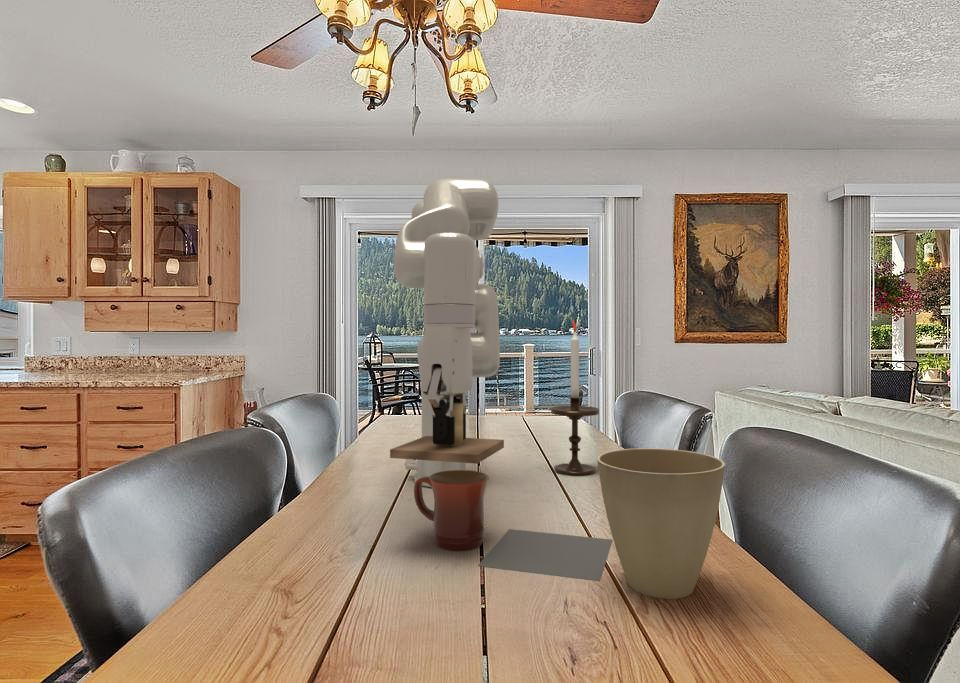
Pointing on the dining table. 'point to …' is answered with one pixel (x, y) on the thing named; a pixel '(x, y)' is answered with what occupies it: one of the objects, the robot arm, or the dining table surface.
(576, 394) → the candlestick
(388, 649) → the dining table surface
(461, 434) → the lid
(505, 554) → the mat
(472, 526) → the mug
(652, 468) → the plant pot
